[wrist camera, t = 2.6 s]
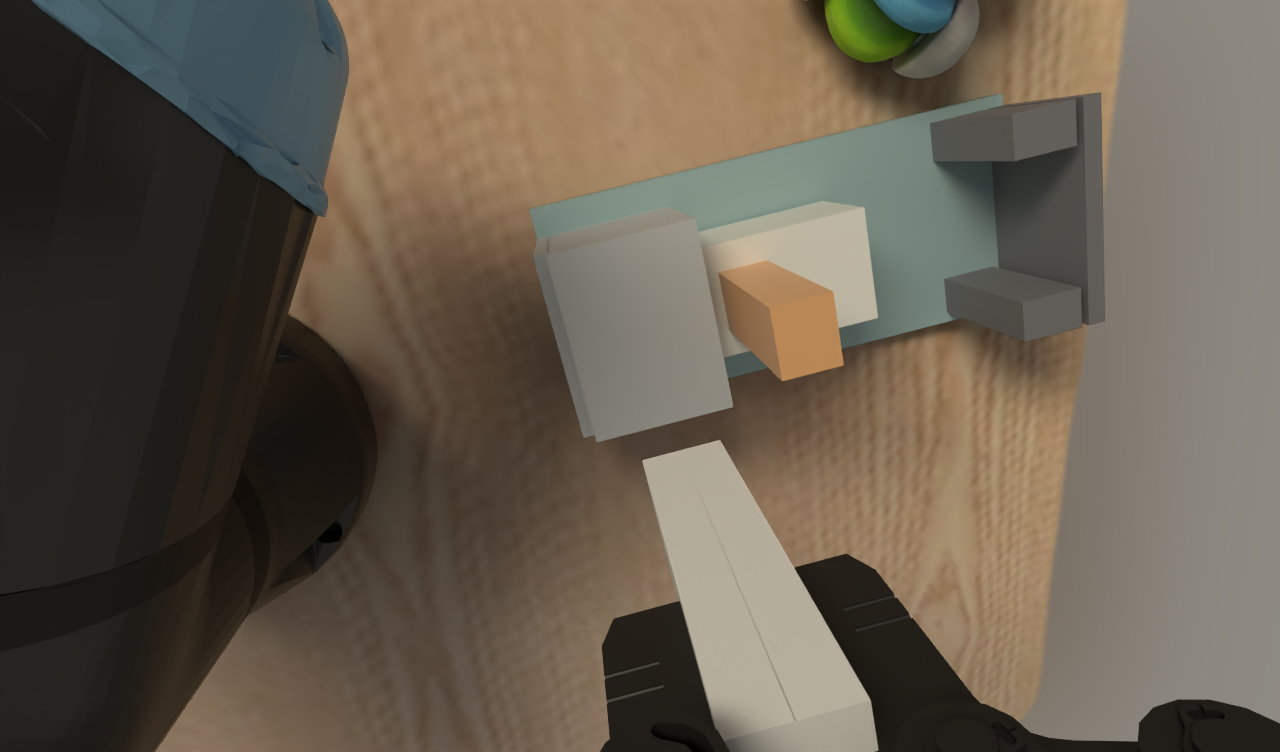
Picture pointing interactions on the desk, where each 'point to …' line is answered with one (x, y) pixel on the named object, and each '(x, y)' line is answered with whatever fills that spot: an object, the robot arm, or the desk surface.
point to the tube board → (897, 233)
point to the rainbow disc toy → (904, 32)
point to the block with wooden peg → (791, 285)
